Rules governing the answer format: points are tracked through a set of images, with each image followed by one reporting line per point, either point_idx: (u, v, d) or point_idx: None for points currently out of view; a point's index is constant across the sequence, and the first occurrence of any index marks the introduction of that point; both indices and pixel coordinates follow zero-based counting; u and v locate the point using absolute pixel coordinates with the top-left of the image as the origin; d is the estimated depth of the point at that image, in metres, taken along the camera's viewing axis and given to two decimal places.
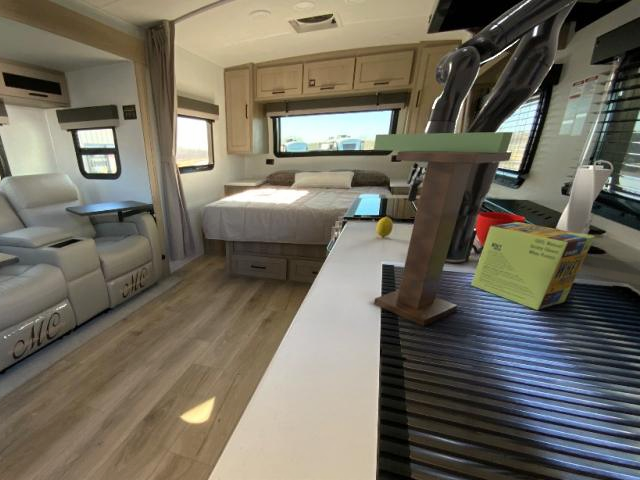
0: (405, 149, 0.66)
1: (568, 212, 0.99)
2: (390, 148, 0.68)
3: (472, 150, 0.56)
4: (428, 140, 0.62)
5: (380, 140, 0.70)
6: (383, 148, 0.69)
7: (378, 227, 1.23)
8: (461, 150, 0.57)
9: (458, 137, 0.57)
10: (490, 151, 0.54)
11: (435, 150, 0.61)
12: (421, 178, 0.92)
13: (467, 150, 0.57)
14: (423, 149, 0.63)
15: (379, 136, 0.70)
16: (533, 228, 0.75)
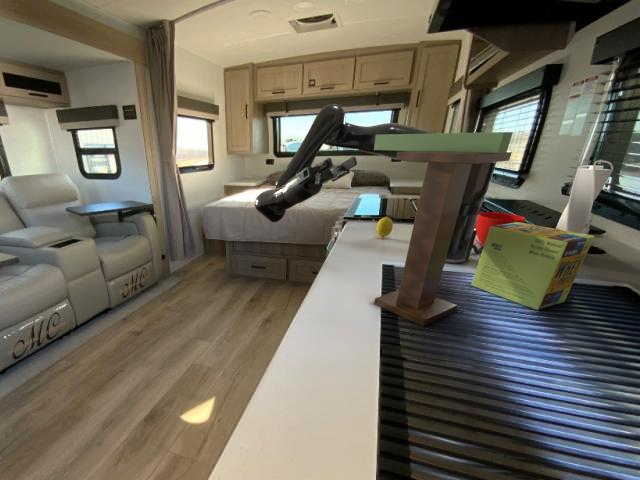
0: (405, 149, 0.66)
1: (568, 212, 0.99)
2: (390, 148, 0.68)
3: (472, 150, 0.56)
4: (428, 140, 0.62)
5: (380, 140, 0.70)
6: (383, 148, 0.69)
7: (378, 227, 1.23)
8: (461, 150, 0.57)
9: (458, 137, 0.57)
10: (490, 151, 0.54)
11: (435, 150, 0.61)
12: (325, 176, 0.86)
13: (467, 150, 0.57)
14: (423, 149, 0.63)
15: (379, 136, 0.70)
16: (533, 228, 0.75)
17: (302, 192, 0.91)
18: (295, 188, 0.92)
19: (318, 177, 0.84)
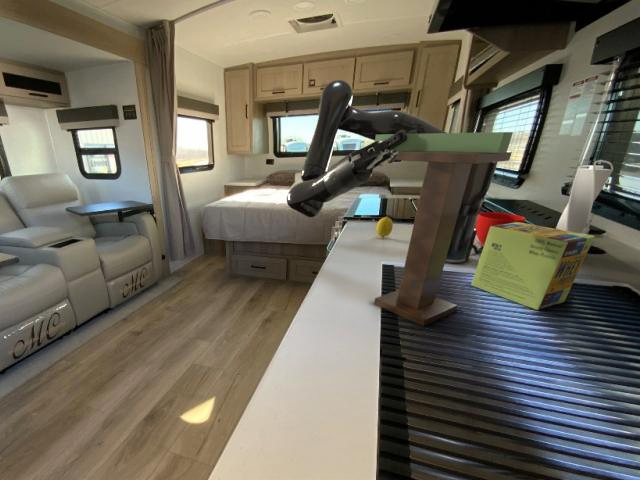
0: (405, 149, 0.66)
1: (568, 212, 0.99)
2: None
3: (472, 150, 0.56)
4: (428, 140, 0.62)
5: (380, 140, 0.70)
6: None
7: (378, 227, 1.23)
8: (461, 150, 0.57)
9: (458, 137, 0.57)
10: (490, 151, 0.54)
11: (435, 150, 0.61)
12: None
13: (467, 150, 0.57)
14: (423, 149, 0.63)
15: (379, 136, 0.70)
16: (533, 228, 0.75)
17: (350, 179, 0.77)
18: (341, 175, 0.78)
19: (381, 157, 0.70)
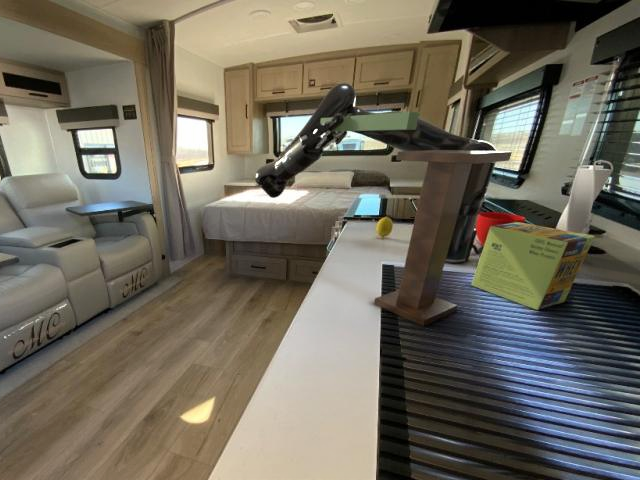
0: (342, 130, 0.77)
1: (568, 212, 0.99)
2: None
3: (389, 128, 0.67)
4: (358, 121, 0.73)
5: None
6: None
7: (378, 227, 1.23)
8: (381, 128, 0.69)
9: (379, 118, 0.69)
10: (401, 128, 0.65)
11: (363, 129, 0.72)
12: (325, 139, 0.84)
13: (385, 128, 0.68)
14: (355, 129, 0.74)
15: (323, 119, 0.81)
16: (533, 228, 0.75)
17: (302, 158, 0.88)
18: (295, 155, 0.89)
19: (325, 137, 0.81)
